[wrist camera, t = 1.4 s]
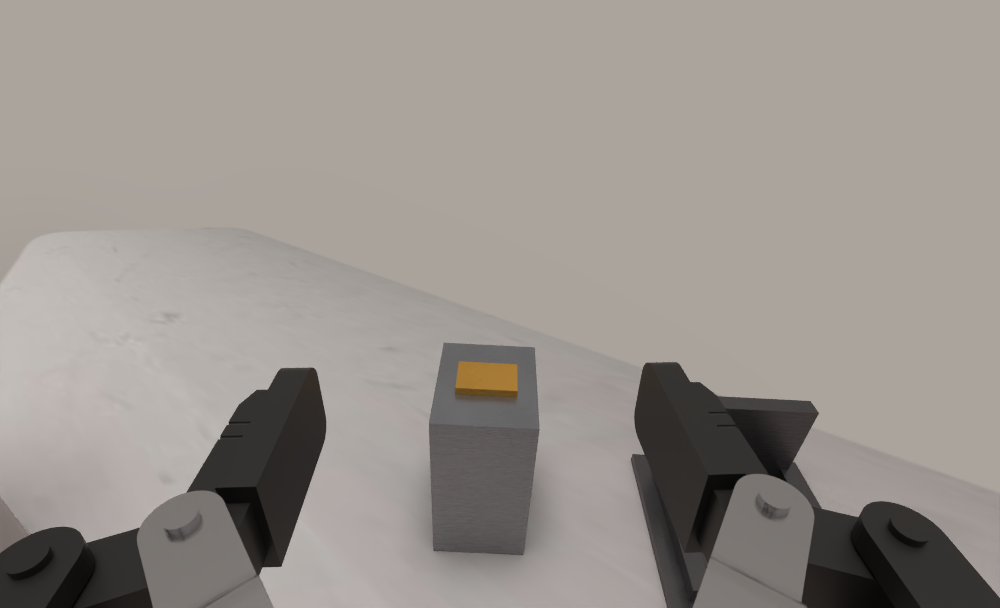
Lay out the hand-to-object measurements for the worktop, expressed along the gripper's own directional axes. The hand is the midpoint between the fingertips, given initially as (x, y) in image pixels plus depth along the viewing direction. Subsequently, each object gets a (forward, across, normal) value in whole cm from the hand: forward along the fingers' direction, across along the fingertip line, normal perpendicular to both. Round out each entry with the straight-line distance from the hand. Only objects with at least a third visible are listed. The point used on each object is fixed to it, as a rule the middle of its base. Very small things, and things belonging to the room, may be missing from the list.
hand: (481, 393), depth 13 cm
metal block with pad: (+11, 0, +18) cm, 21 cm away
